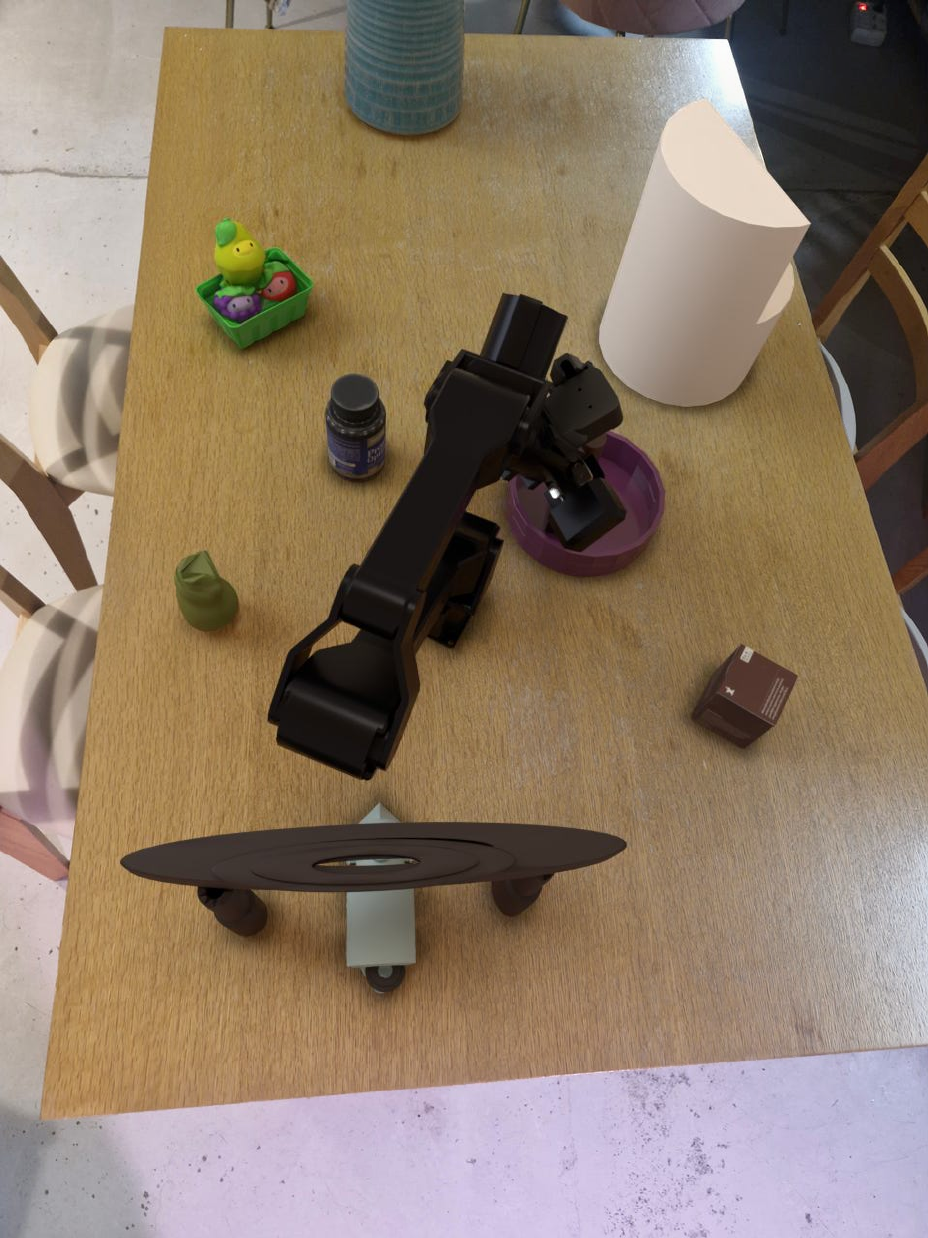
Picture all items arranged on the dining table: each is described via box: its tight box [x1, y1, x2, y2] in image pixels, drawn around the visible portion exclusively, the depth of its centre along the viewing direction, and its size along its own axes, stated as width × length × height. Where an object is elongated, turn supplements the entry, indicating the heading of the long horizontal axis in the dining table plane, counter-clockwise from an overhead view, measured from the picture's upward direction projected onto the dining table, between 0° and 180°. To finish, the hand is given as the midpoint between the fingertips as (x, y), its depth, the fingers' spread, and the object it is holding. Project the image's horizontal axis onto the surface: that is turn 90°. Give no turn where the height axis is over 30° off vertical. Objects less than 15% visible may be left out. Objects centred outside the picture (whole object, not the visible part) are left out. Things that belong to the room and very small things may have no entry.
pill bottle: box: [324, 373, 387, 482], centre depth 87 cm, size 6×6×11 cm
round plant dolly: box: [119, 802, 628, 995], centre depth 64 cm, size 16×21×33 cm
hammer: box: [545, 433, 607, 533], centre depth 85 cm, size 6×4×13 cm, turn 169°
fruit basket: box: [195, 216, 315, 350], centre depth 95 cm, size 11×9×11 cm
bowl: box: [504, 430, 666, 578], centre depth 90 cm, size 16×16×4 cm
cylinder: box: [598, 97, 812, 408], centre depth 92 cm, size 19×19×25 cm
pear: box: [173, 549, 240, 633], centre depth 78 cm, size 6×5×10 cm
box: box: [690, 643, 799, 750], centre depth 80 cm, size 6×6×7 cm
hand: (591, 472), depth 85 cm, fingers closed on hammer, 2 cm apart
